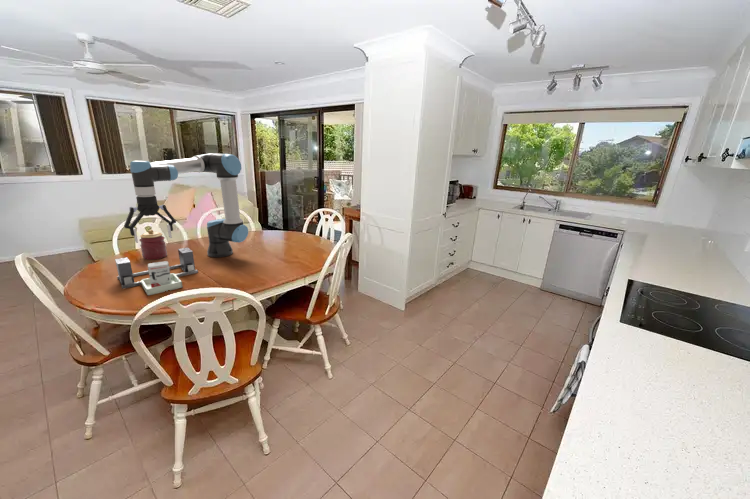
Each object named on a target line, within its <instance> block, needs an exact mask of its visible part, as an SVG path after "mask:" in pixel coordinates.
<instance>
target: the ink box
mask: <svg viewBox="0 0 750 499" xmlns="http://www.w3.org/2000/svg"><path fill="white" fill-rule="evenodd" d="M169 266H170V264H169V261H168V260H165V261H158V262H157V261H156V262H152V263H151V262H150V263H147V271H149V274H148V276H149V278H150V282H151V287H152V288H153V287H157V286H162V285H166V284H171V283H172V282H171V276H170V274H171V269H170V270H169Z"/></svg>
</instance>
